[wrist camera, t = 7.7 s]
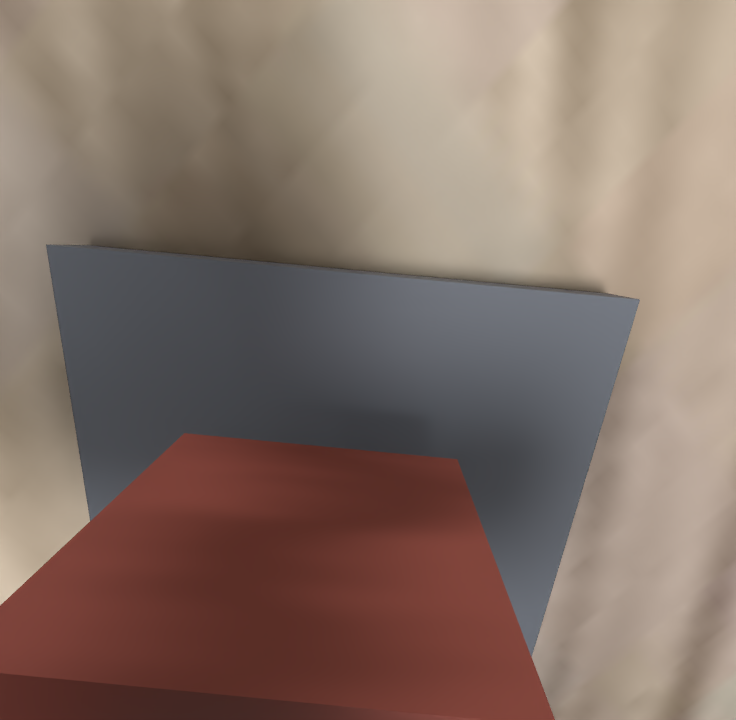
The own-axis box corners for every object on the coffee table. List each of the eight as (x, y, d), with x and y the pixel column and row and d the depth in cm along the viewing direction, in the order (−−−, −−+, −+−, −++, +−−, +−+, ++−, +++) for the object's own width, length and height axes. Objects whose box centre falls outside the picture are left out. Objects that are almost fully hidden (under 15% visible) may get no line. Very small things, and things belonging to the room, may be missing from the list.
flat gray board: (606, 293, 11) (845, 337, 5) (513, 630, 15) (594, 859, 10) (88, 245, 11) (-215, 239, 6) (133, 593, 15) (-15, 800, 10)
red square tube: (457, 459, 9) (557, 725, 4) (421, 656, 10) (456, 1004, 6) (184, 433, 9) (-65, 666, 4) (197, 634, 10) (40, 964, 6)
